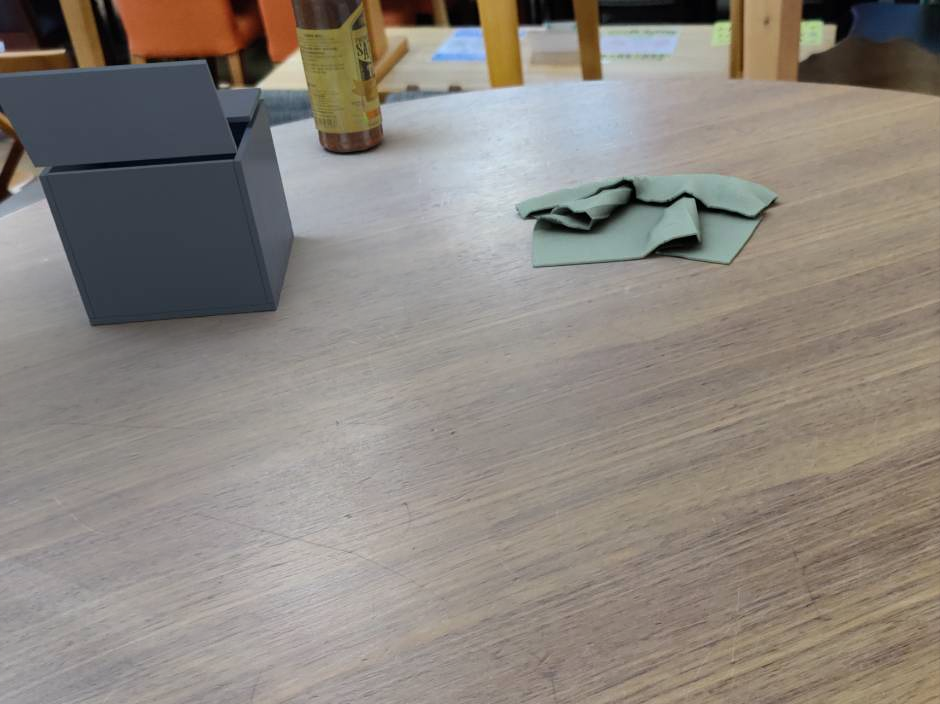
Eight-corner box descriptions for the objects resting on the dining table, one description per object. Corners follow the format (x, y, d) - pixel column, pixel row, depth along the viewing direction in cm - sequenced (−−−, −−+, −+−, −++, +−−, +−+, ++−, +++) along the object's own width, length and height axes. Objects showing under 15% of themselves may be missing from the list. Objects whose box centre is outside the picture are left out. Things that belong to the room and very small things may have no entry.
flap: (237, 148, 79) (237, 153, 79) (35, 163, 78) (35, 168, 78) (205, 59, 73) (205, 63, 73) (-14, 74, 72) (-15, 78, 72)
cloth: (806, 194, 100) (808, 165, 99) (691, 298, 86) (691, 265, 84) (593, 162, 108) (591, 134, 106) (454, 252, 93) (450, 221, 92)
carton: (276, 310, 86) (237, 148, 79) (90, 325, 85) (33, 163, 78) (294, 235, 97) (261, 87, 90) (129, 248, 96) (82, 99, 89)
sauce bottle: (389, 150, 112) (349, -97, 99) (321, 158, 111) (272, -90, 98) (382, 129, 117) (343, -109, 104) (317, 137, 116) (269, -103, 103)
